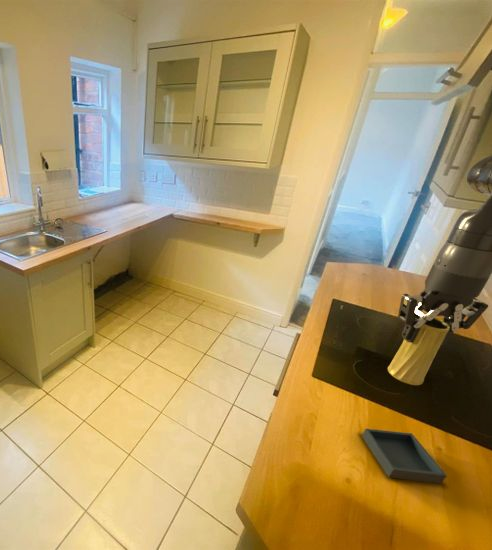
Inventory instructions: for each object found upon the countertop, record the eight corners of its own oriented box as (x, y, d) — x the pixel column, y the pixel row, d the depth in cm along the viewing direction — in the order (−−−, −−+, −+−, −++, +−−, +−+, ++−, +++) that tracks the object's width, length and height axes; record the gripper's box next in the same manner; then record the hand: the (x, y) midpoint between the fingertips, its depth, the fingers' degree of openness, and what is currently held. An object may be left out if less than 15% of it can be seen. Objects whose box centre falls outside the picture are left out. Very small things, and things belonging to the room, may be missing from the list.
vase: (381, 364, 70) (405, 312, 64) (410, 367, 70) (437, 315, 64) (398, 383, 65) (427, 329, 59) (430, 387, 64) (462, 332, 58)
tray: (407, 440, 71) (412, 433, 70) (441, 483, 63) (447, 475, 61) (361, 435, 72) (365, 428, 71) (388, 477, 64) (393, 469, 62)
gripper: (435, 273, 53) (397, 350, 61) (526, 278, 52) (477, 356, 59) (405, 258, 60) (374, 328, 67) (485, 262, 59) (445, 333, 66)
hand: (422, 341), depth 63 cm, fingers closed on vase, 5 cm apart
